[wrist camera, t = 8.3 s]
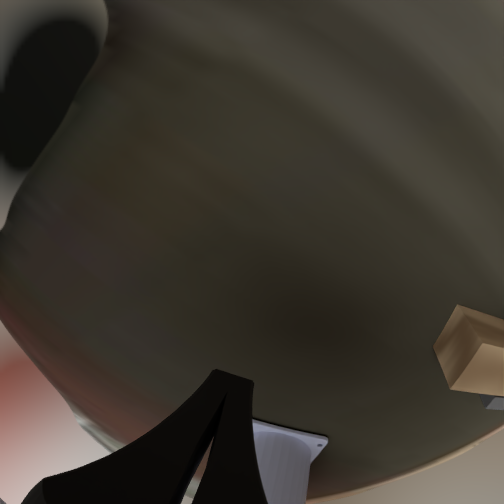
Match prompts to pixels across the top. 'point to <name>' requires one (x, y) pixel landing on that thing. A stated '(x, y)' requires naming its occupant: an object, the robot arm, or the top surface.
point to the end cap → (492, 401)
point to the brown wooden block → (472, 352)
